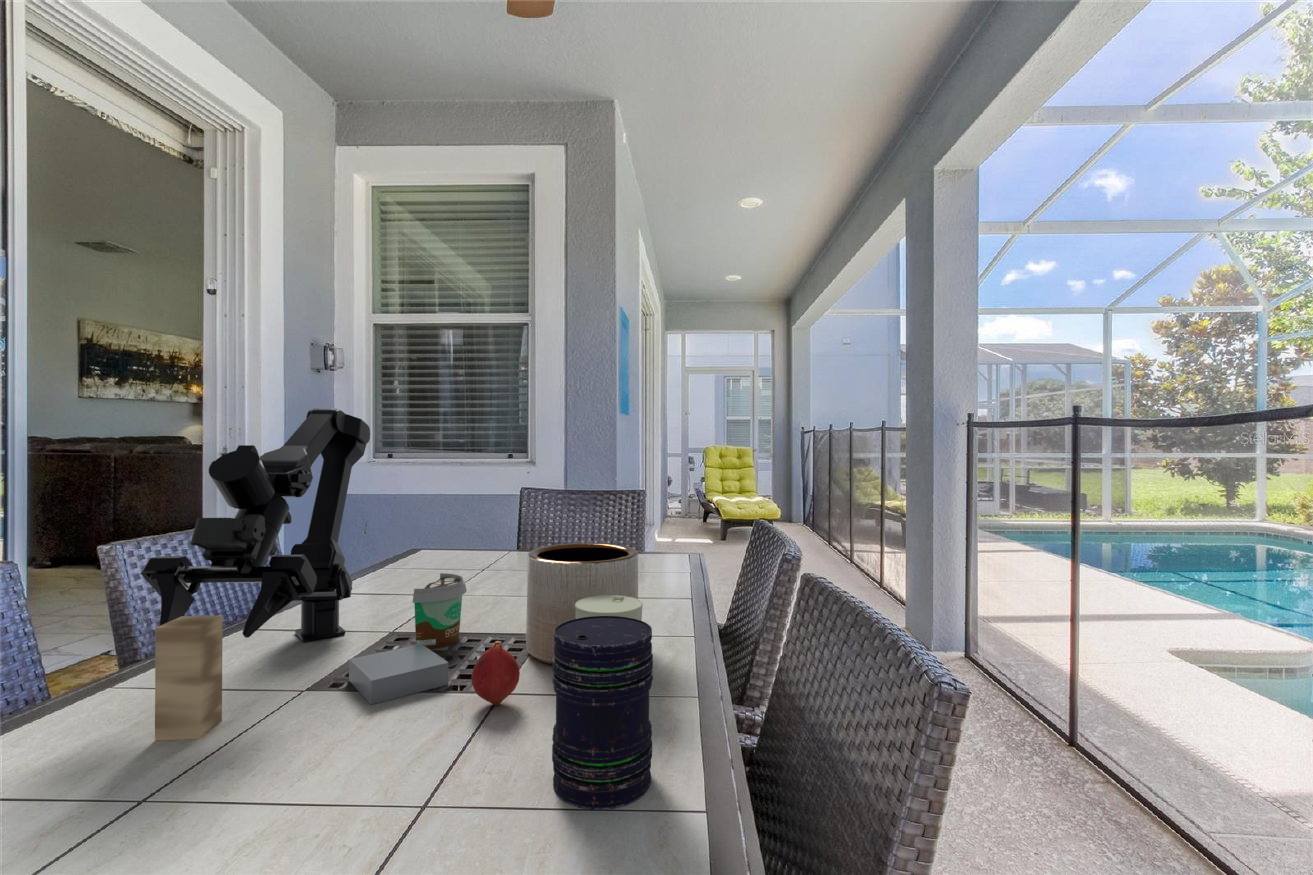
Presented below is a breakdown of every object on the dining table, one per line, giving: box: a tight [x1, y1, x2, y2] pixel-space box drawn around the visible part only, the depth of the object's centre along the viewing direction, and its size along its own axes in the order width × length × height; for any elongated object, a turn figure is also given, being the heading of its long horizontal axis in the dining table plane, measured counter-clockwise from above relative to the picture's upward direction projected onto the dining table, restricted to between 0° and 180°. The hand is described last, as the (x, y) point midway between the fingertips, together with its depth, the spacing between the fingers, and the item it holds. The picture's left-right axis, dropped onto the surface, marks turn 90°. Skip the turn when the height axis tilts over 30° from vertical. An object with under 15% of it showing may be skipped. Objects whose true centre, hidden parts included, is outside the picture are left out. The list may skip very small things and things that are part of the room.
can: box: [575, 595, 644, 621], centre depth 85 cm, size 9×9×12 cm
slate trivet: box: [348, 644, 450, 705], centre depth 86 cm, size 10×10×3 cm
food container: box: [412, 572, 467, 651], centre depth 104 cm, size 12×6×10 cm, turn 179°
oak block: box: [154, 614, 224, 742], centre depth 72 cm, size 4×4×12 cm
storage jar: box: [551, 616, 654, 811], centre depth 62 cm, size 10×10×15 cm
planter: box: [525, 542, 639, 666], centre depth 100 cm, size 18×18×16 cm
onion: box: [470, 640, 521, 706], centre depth 79 cm, size 6×6×8 cm
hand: (204, 636), depth 75 cm, fingers open, 9 cm apart
